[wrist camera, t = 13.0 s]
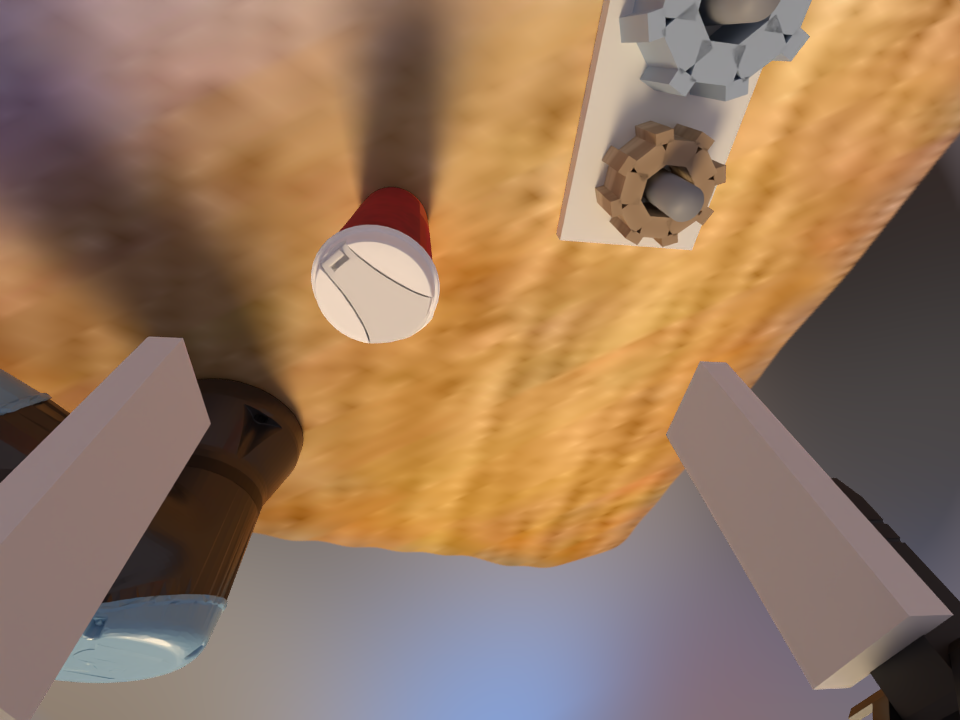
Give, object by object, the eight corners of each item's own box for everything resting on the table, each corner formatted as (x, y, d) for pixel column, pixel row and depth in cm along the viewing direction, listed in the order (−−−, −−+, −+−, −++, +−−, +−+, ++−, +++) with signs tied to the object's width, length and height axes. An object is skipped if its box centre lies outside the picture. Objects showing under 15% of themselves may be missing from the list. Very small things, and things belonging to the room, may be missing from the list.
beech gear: (585, 225, 38) (599, 242, 34) (611, 116, 33) (630, 123, 30) (676, 232, 38) (698, 249, 35) (714, 127, 34) (743, 136, 31)
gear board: (556, 234, 39) (580, 274, 32) (628, -124, 27) (693, -183, 20) (684, 243, 41) (734, 284, 34) (809, -92, 28) (929, -137, 21)
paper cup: (327, 213, 37) (277, 288, 26) (396, 151, 35) (374, 203, 23) (393, 280, 41) (375, 372, 29) (459, 229, 38) (467, 306, 27)
